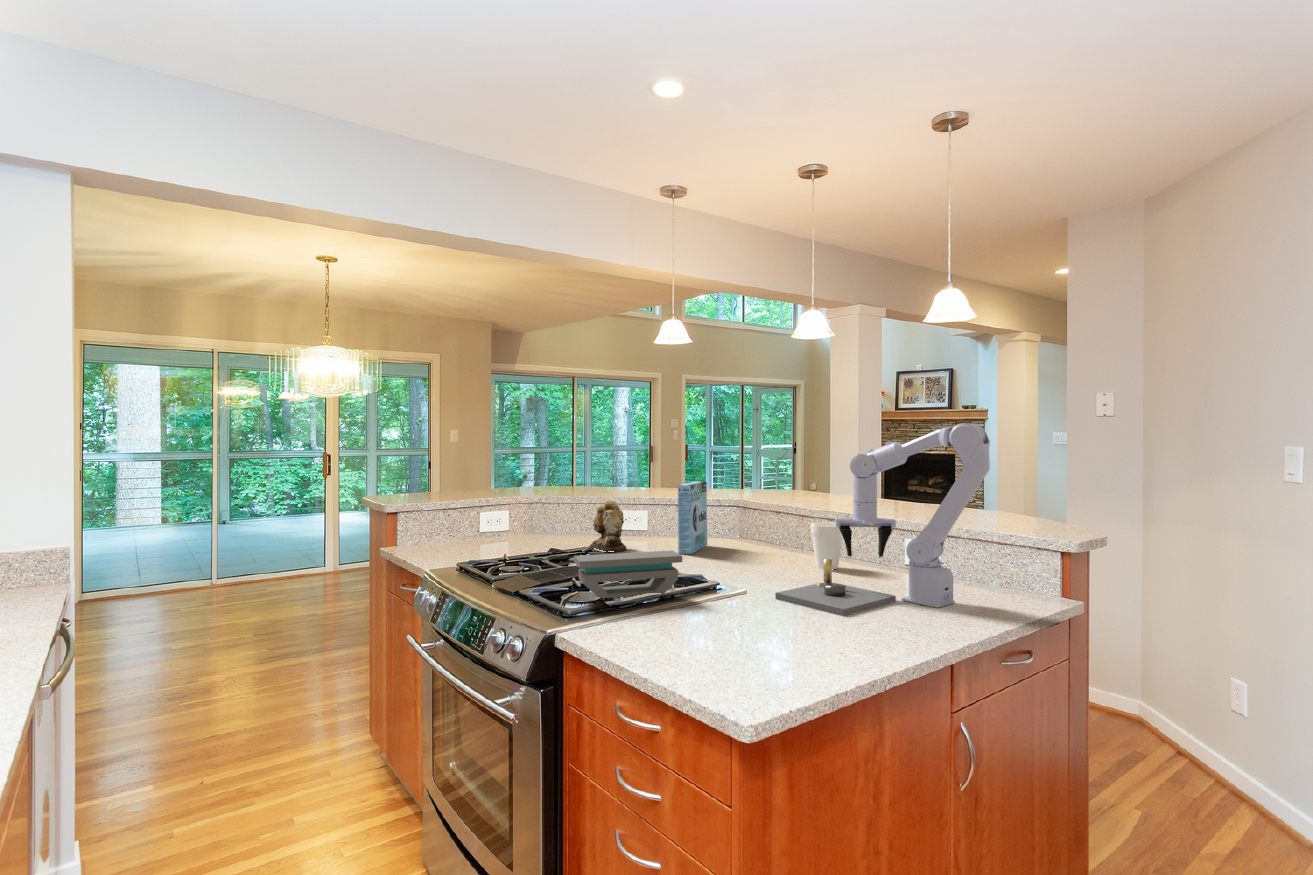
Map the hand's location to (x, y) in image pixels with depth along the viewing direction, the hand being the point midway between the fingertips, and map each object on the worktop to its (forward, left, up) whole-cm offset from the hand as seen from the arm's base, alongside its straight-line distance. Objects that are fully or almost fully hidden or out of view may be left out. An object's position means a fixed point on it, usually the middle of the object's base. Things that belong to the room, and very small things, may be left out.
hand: (865, 555), depth 175 cm
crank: (+2, +10, -8) cm, 13 cm away
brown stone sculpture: (+95, +14, -10) cm, 96 cm away
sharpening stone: (+31, +51, -10) cm, 60 cm away
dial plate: (0, +12, -9) cm, 15 cm away
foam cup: (+26, -18, -10) cm, 33 cm away
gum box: (+75, -8, -10) cm, 76 cm away
